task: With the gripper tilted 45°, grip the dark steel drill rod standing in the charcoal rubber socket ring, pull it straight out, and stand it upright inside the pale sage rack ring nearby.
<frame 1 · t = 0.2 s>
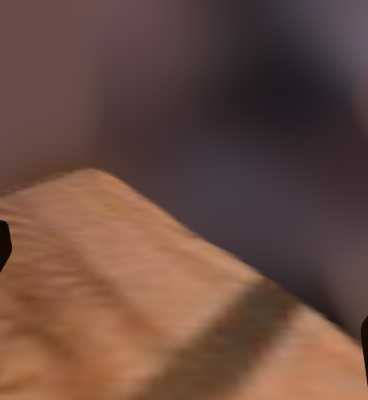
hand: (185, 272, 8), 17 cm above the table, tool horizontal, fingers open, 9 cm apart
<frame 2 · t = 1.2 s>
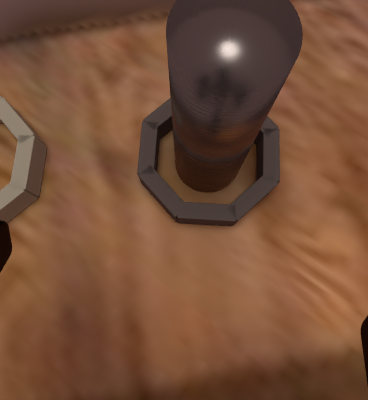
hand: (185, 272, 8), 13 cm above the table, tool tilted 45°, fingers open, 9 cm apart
drill rod: (207, 161, 23), resting in socket ring
socket ring: (207, 161, 23), on the table
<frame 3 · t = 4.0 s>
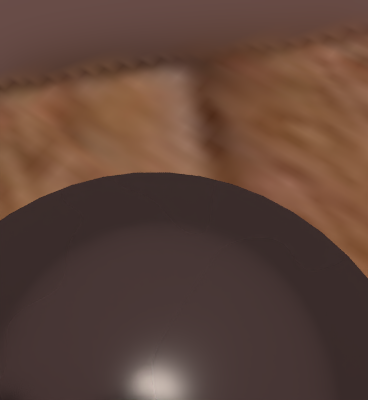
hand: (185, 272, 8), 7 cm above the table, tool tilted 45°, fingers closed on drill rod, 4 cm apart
drill rod: (178, 305, 15), resting in socket ring, touching gripper
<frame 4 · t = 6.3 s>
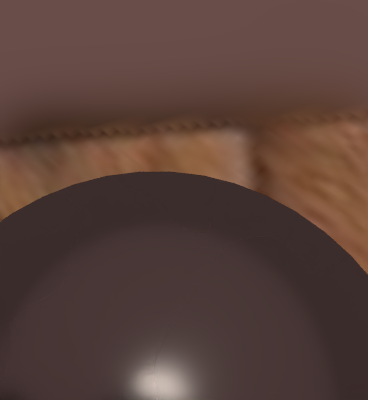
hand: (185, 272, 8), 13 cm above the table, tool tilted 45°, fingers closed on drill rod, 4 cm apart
drill rod: (178, 305, 15), point 6 cm above the table, touching gripper
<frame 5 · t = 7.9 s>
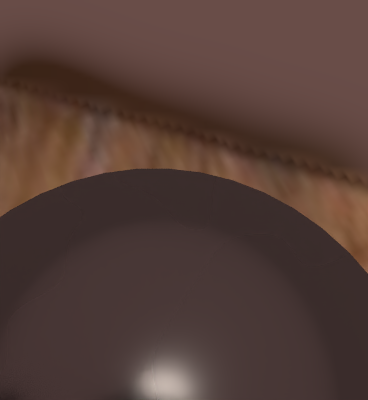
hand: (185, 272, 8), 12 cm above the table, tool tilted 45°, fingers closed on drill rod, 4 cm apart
drill rod: (178, 304, 15), point 5 cm above the table, touching gripper
when the fingers open (8 cm above the table, at t = 9.1 s): drill rod stays where it is, resting in rack ring.
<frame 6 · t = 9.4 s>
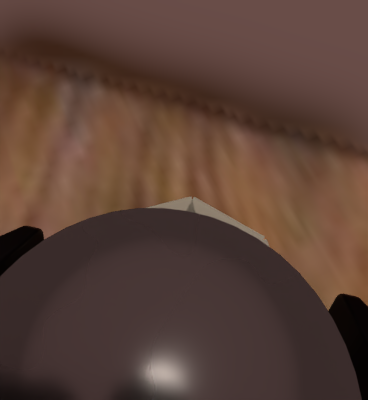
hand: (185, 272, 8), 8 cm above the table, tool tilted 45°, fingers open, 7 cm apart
rack ring: (178, 303, 16), on the table
drill rod: (178, 306, 16), resting in rack ring
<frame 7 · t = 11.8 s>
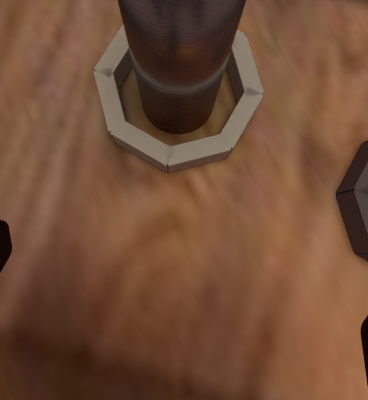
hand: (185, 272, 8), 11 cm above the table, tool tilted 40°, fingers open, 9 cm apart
rack ring: (178, 97, 20), on the table
drill rod: (178, 99, 20), resting in rack ring
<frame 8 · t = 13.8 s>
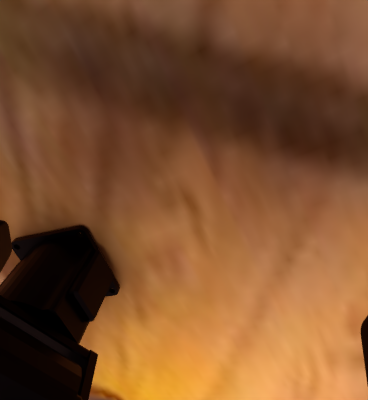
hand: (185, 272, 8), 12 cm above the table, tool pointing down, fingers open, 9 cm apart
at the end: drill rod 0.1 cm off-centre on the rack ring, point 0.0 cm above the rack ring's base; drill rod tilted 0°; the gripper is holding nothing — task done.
